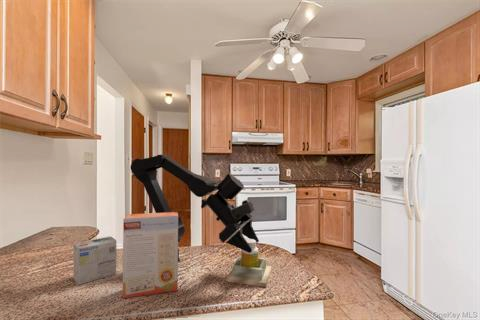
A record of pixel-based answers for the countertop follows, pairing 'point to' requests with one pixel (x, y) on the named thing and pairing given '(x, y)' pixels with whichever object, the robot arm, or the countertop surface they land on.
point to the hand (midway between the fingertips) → (254, 246)
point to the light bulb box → (94, 259)
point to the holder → (250, 273)
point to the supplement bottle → (250, 255)
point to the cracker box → (150, 253)
